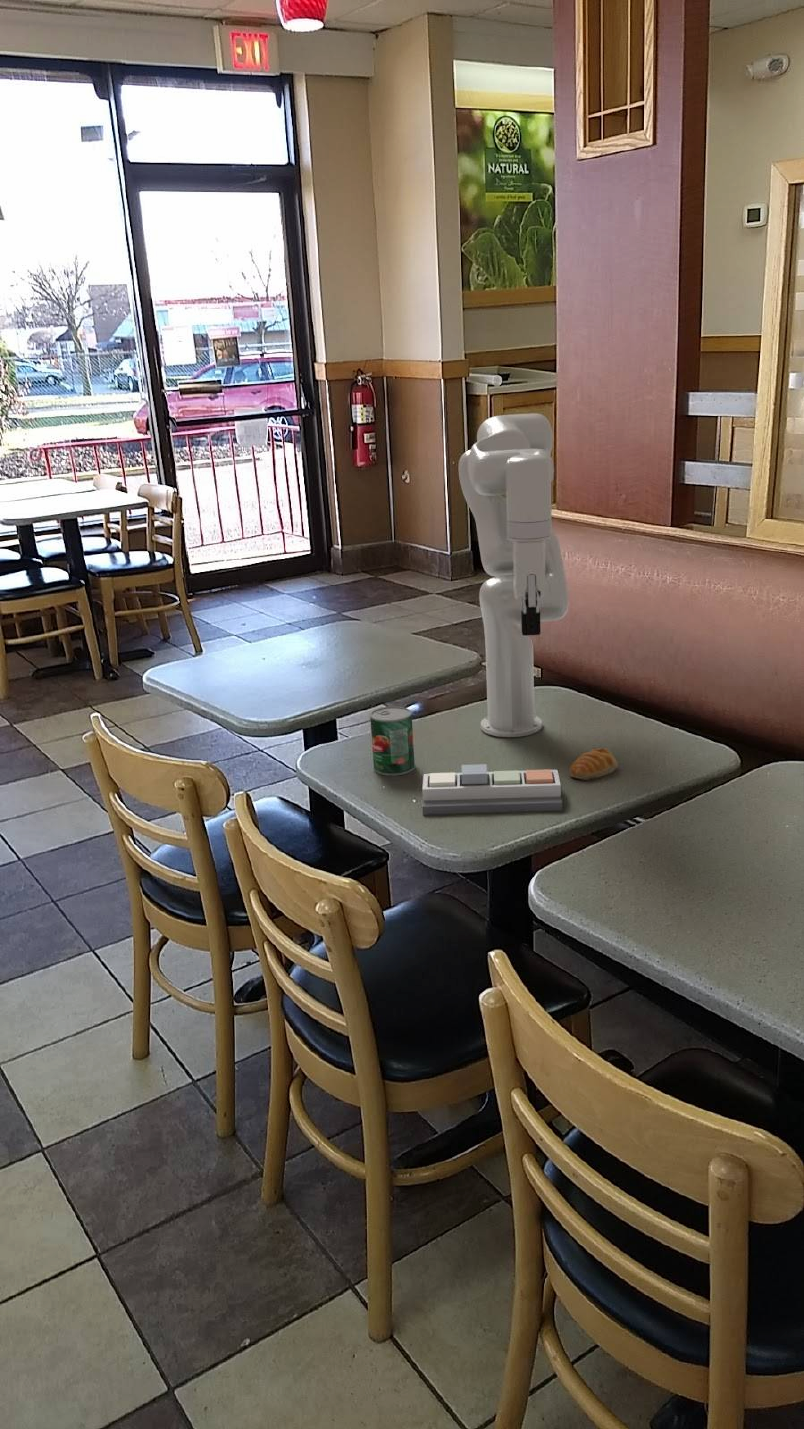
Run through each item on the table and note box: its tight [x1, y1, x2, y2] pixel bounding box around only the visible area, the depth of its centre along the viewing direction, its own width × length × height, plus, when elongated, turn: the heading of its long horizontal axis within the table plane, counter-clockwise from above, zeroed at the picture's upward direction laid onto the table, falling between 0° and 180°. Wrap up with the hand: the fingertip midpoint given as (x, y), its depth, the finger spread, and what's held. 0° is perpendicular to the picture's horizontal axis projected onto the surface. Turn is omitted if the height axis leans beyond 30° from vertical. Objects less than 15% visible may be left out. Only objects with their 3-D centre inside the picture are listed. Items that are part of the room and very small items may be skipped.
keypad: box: [421, 769, 563, 816], centre depth 192 cm, size 12×24×4 cm, turn 87°
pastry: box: [569, 747, 619, 781], centre depth 201 cm, size 9×7×4 cm
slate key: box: [461, 763, 488, 784], centre depth 192 cm, size 4×4×2 cm
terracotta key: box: [525, 768, 553, 784], centre depth 191 cm, size 4×4×2 cm
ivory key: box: [429, 772, 456, 787], centre depth 192 cm, size 4×4×2 cm
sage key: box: [493, 770, 520, 785], centre depth 192 cm, size 4×4×2 cm
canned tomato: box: [369, 706, 416, 776], centre depth 207 cm, size 8×8×11 cm
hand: (531, 633), depth 193 cm, fingers closed
